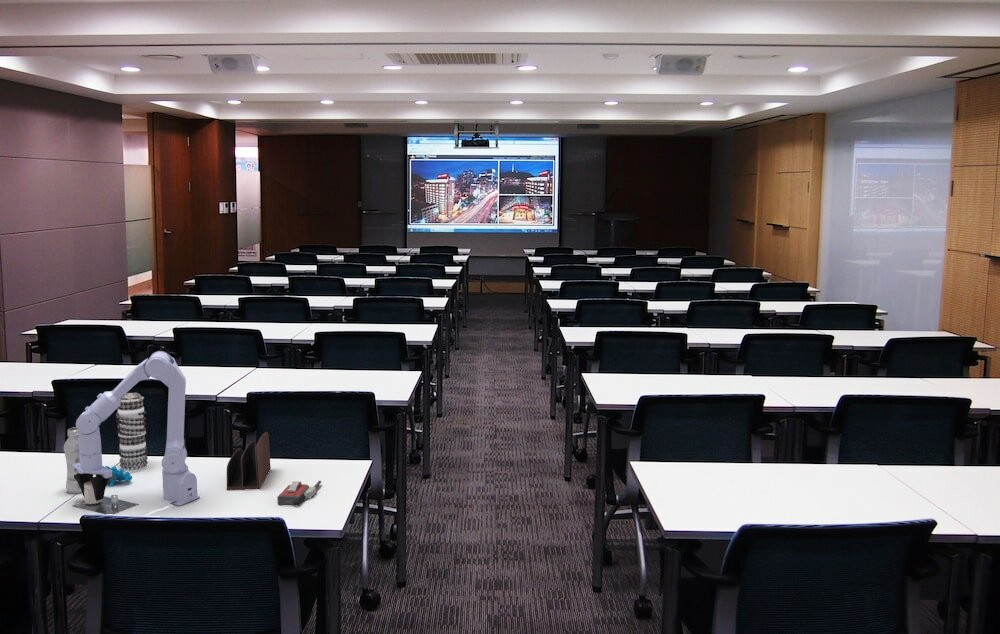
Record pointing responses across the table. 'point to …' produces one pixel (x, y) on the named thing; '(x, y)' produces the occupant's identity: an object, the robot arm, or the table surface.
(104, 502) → the flat rectangular plate
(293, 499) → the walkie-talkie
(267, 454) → the letter holder
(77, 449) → the plastic bottle
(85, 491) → the knob
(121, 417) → the decorative candle
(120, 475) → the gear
